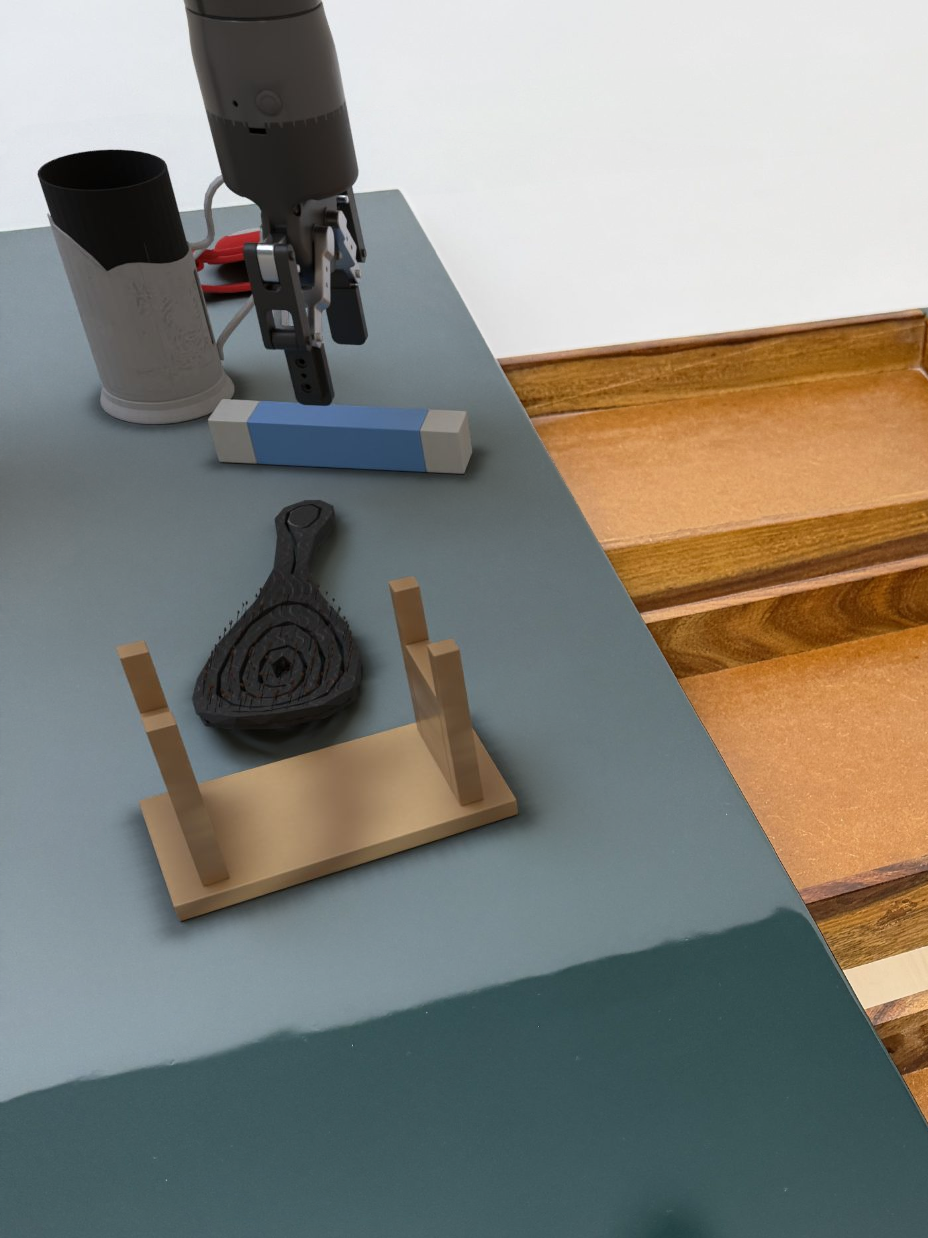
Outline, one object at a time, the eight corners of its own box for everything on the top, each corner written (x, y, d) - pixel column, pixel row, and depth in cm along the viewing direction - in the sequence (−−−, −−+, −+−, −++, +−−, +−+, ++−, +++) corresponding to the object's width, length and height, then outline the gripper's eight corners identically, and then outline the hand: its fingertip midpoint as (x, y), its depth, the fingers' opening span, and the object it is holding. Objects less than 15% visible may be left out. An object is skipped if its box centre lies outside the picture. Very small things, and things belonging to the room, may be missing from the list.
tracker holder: (225, 231, 117) (334, 212, 115) (245, 287, 119) (352, 269, 117) (144, 250, 107) (262, 229, 105) (166, 311, 109) (283, 291, 107)
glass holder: (87, 381, 99) (12, 156, 89) (289, 343, 105) (241, 128, 95) (117, 434, 94) (42, 202, 84) (328, 391, 100) (282, 170, 90)
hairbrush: (374, 467, 88) (339, 695, 69) (385, 521, 90) (353, 755, 71) (234, 472, 86) (159, 707, 68) (248, 527, 89) (180, 768, 70)
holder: (179, 922, 63) (112, 751, 56) (143, 815, 68) (77, 646, 61) (518, 814, 70) (495, 649, 63) (464, 723, 74) (436, 561, 68)
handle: (218, 462, 92) (206, 419, 90) (232, 440, 95) (221, 398, 92) (464, 474, 93) (458, 432, 91) (472, 452, 95) (467, 410, 93)
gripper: (245, 55, 84) (305, 322, 95) (161, 133, 73) (240, 422, 84) (372, 61, 84) (418, 327, 95) (307, 140, 73) (366, 427, 85)
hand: (334, 371), depth 90 cm, fingers open, 8 cm apart
